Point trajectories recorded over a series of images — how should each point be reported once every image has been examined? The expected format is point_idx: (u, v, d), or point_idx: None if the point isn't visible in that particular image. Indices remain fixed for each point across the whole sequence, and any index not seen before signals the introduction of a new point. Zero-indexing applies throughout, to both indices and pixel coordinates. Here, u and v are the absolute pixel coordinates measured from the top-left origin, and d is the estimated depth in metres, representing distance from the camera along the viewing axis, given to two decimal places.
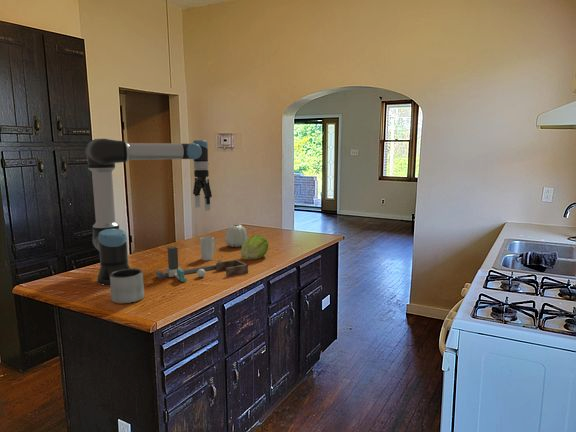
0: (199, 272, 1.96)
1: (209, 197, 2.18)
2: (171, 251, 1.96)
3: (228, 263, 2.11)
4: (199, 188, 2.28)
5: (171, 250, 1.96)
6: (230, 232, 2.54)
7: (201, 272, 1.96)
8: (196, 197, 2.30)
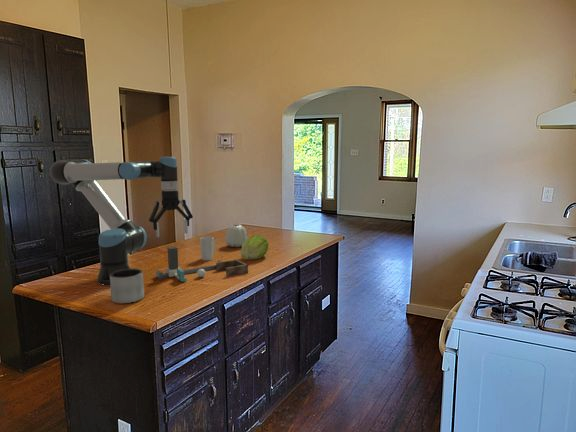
0: (199, 272, 1.96)
1: None
2: (171, 251, 1.96)
3: (228, 263, 2.11)
4: (179, 211, 1.98)
5: (171, 250, 1.96)
6: (230, 232, 2.54)
7: (201, 272, 1.96)
8: (184, 221, 2.01)
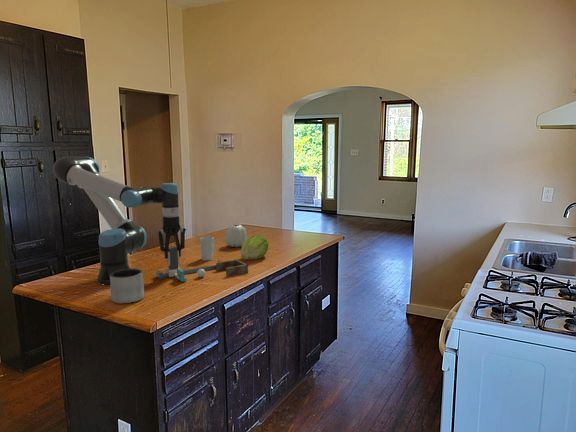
0: (199, 272, 1.96)
1: (163, 251, 1.96)
2: (171, 251, 1.96)
3: (228, 263, 2.11)
4: (175, 239, 1.98)
5: (171, 250, 1.96)
6: (230, 232, 2.54)
7: (201, 272, 1.96)
8: None
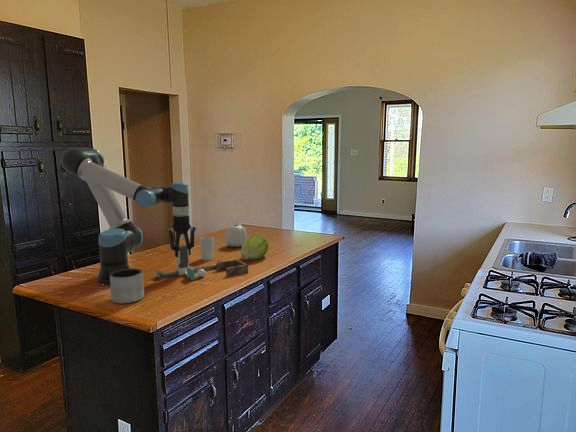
0: (199, 272, 1.96)
1: (173, 249, 1.98)
2: (181, 250, 1.99)
3: (228, 263, 2.11)
4: (185, 237, 2.01)
5: (181, 249, 1.99)
6: (230, 232, 2.54)
7: (201, 272, 1.96)
8: None
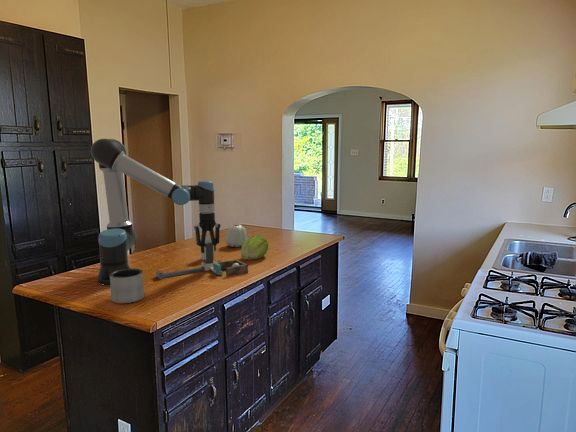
0: None
1: None
2: (207, 246, 2.06)
3: (228, 263, 2.11)
4: (210, 234, 2.08)
5: (207, 245, 2.06)
6: (230, 232, 2.54)
7: None
8: None
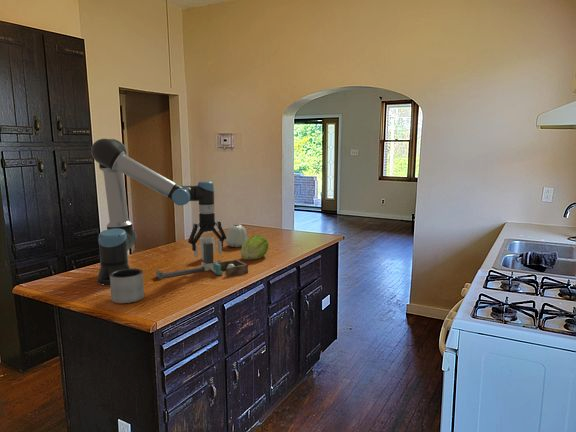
0: (233, 265, 2.05)
1: (191, 243, 2.03)
2: (207, 246, 2.06)
3: (228, 263, 2.11)
4: (214, 233, 2.09)
5: (207, 245, 2.06)
6: (230, 232, 2.54)
7: None
8: (218, 242, 2.12)
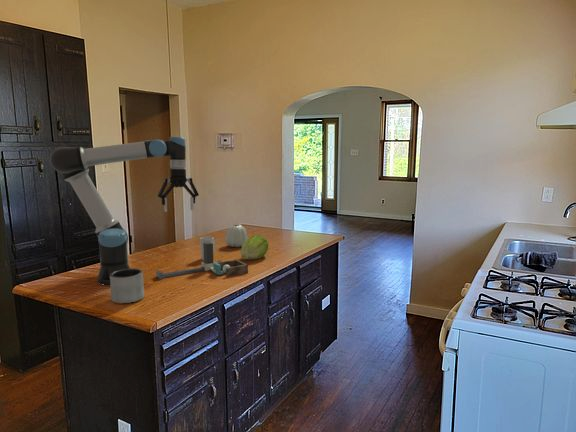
0: (225, 267, 2.03)
1: (160, 197, 2.04)
2: (207, 246, 2.06)
3: (228, 263, 2.11)
4: (186, 189, 2.11)
5: (207, 245, 2.06)
6: (230, 232, 2.54)
7: (227, 267, 2.03)
8: (190, 198, 2.14)
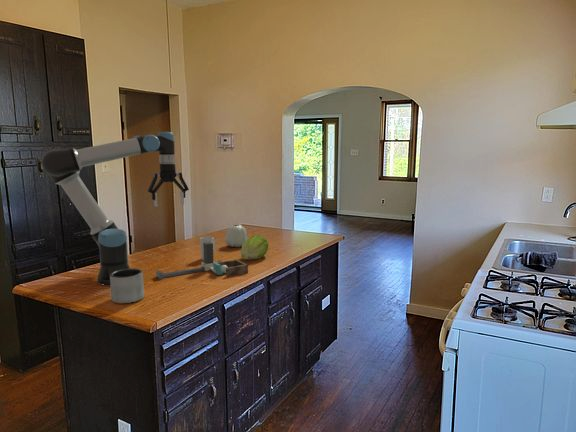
0: (222, 269, 2.02)
1: (150, 192, 2.06)
2: (207, 246, 2.06)
3: (228, 263, 2.11)
4: (176, 183, 2.12)
5: (207, 245, 2.06)
6: (230, 232, 2.54)
7: (224, 269, 2.02)
8: (180, 193, 2.15)
